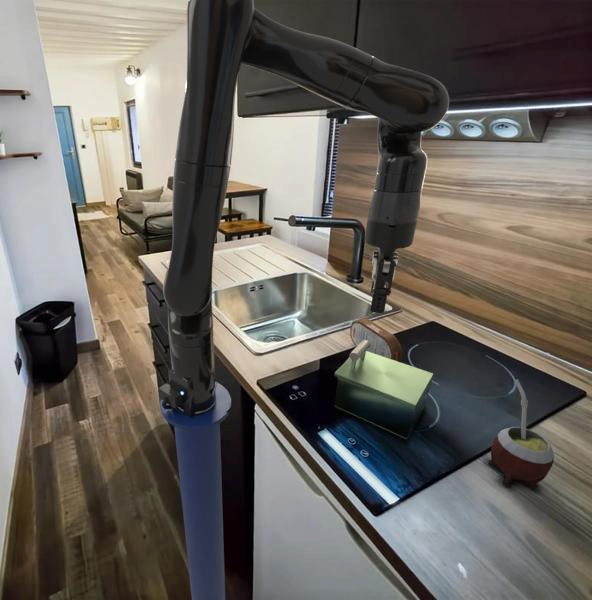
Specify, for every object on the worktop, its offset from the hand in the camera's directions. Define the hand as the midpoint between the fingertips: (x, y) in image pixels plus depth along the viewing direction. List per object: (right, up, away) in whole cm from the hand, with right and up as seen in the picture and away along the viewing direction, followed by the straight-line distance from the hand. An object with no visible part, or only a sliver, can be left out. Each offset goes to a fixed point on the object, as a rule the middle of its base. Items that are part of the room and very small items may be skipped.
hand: (376, 302), depth 69 cm
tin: (+10, -14, +22) cm, 28 cm away
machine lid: (+2, -15, +3) cm, 15 cm away
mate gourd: (+17, -28, -9) cm, 34 cm away
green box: (+3, -22, +6) cm, 23 cm away
